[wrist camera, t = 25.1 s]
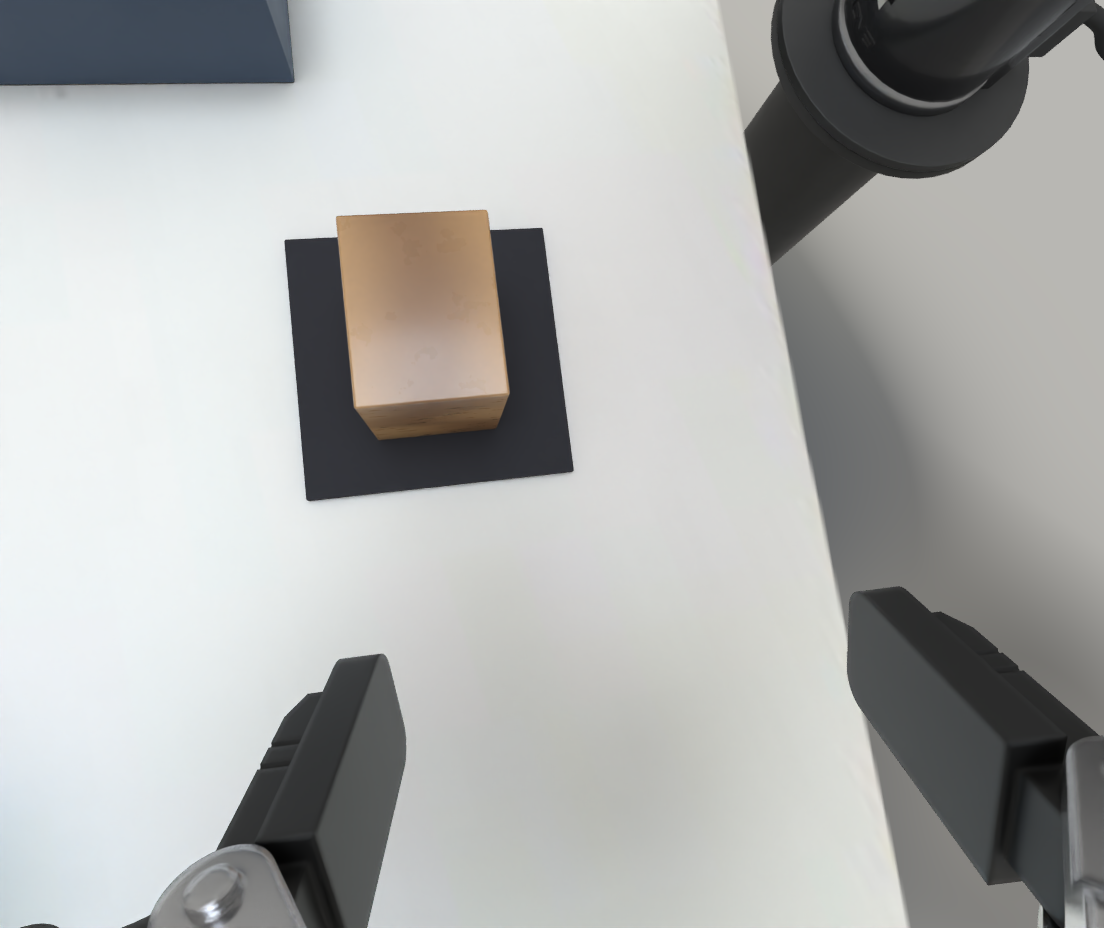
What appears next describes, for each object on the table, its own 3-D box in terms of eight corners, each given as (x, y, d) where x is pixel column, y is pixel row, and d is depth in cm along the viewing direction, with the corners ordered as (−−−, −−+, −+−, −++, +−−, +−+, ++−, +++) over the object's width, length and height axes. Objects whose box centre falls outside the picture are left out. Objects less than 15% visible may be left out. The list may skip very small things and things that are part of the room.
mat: (541, 231, 32) (542, 227, 31) (572, 472, 30) (574, 471, 30) (286, 243, 30) (284, 239, 29) (308, 501, 28) (306, 500, 28)
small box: (480, 283, 30) (487, 208, 23) (497, 428, 30) (510, 394, 23) (362, 291, 29) (335, 215, 23) (377, 440, 29) (353, 409, 22)
